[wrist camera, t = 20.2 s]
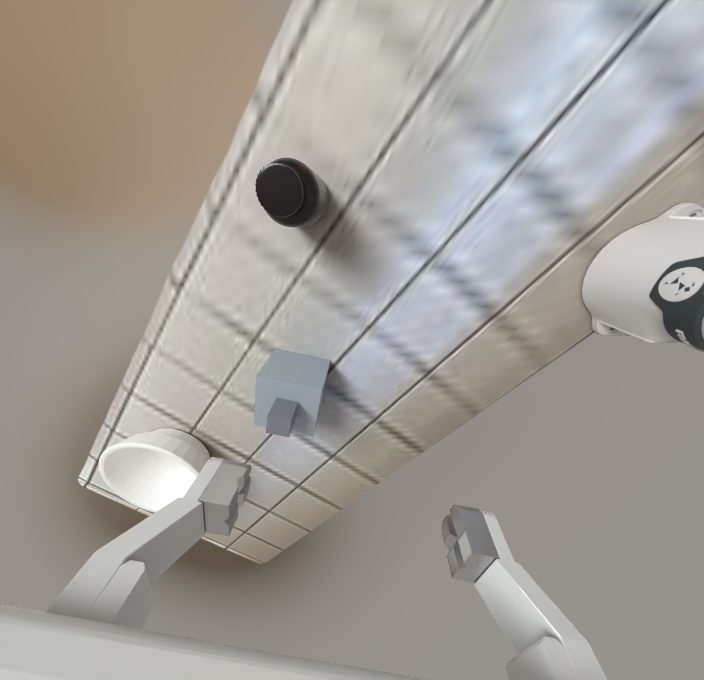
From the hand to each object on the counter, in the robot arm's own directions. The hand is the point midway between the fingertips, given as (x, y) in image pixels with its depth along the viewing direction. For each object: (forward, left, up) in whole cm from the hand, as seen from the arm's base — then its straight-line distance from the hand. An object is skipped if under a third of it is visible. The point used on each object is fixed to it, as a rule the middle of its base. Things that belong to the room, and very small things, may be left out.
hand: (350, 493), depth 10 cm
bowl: (+34, +48, -34) cm, 68 cm away
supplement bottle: (+11, -10, -34) cm, 37 cm away
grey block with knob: (+8, +20, -34) cm, 40 cm away
